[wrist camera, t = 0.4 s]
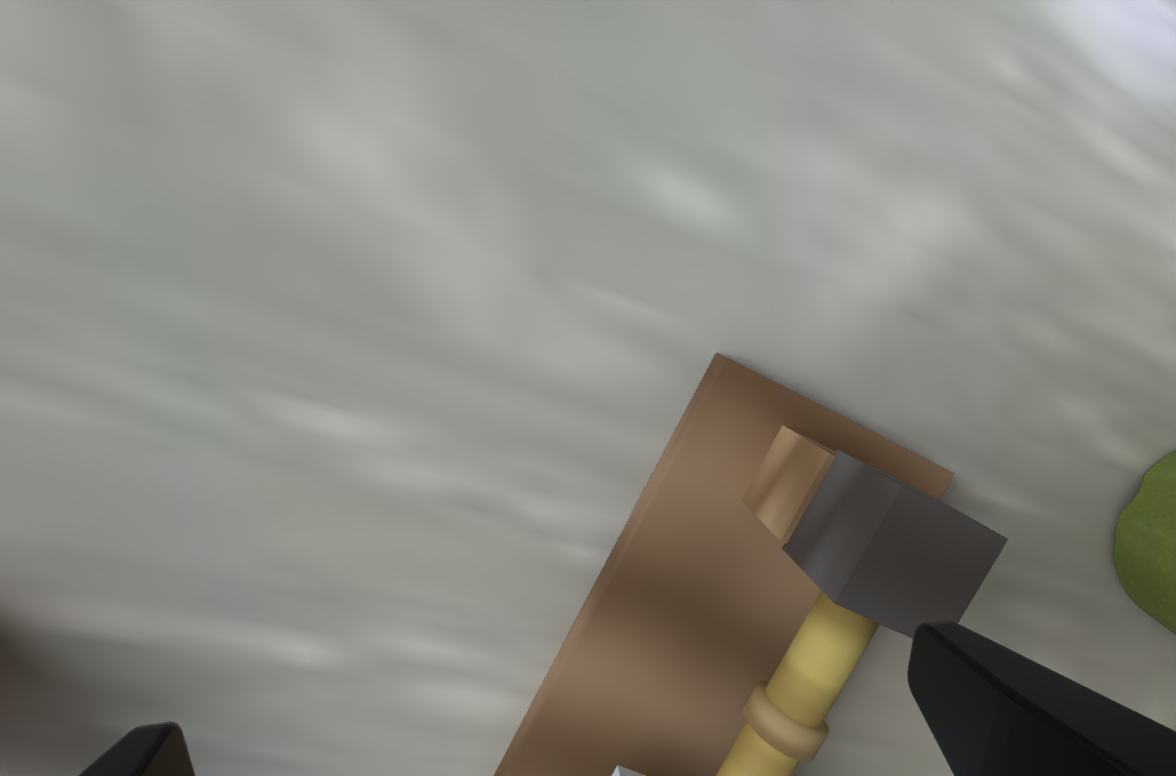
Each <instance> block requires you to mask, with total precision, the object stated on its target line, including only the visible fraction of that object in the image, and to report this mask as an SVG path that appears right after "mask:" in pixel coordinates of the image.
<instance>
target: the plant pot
mask: <svg viewBox="0 0 1176 776" xmlns="http://www.w3.org/2000/svg"><path fill="white" fill-rule="evenodd" d="M1114 560H1115V565H1116V570H1117V573H1118V576H1119V579H1120V581H1121V583H1122V585H1123V587H1124V589H1125V591H1126V592H1127V594H1128V595H1129V597H1130V598H1131V599H1132V600H1133V601H1134V602H1135V603H1136V604H1137V605H1138V606H1139V607H1140V608H1142V609H1143V610H1144V611H1145V612H1147V613H1148V614H1149V615H1150V616H1152V617H1153V618H1154V619H1155V620H1157V621H1158V622H1159V623H1161V624H1162V625H1163V626H1165V627H1166V628H1167V629H1169V630H1170V631H1172V632H1173V633H1174V634H1176V451H1174V452H1173V453H1171V454H1169V455H1167V456H1166V457H1165V458H1163V459H1162V460H1160V461H1159V462H1157V463H1156V464H1155V465H1154V466H1153V467H1152V468H1151V469H1150V470H1149V471H1148V472H1147V473H1146V474H1145V475H1144V477H1143V479H1142V484H1141V487H1140V489H1139V491H1138V493H1137V495H1136V496H1135V497H1134V499H1133V500H1132V501H1131V503H1130V504H1129V505H1128V506H1127V507H1126V508H1125V509H1124V510H1123V511H1122V513H1121V514H1120V516H1119V519H1118V523H1117V527H1116V532H1115V540H1114Z"/></svg>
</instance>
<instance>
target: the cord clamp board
mask: <svg viewBox="0 0 1176 776" xmlns="http://www.w3.org/2000/svg"><path fill="white" fill-rule="evenodd" d="M953 475H954V473H952V472H950V471H948V470H946V469H944V468H942V467H940V466H938V465H936V464H934V463H932V462H930V461H928V460H926V459H925V458H923V457H921V456H919V455H917V454H915V453H913V452H911V451H909V450H907V449H905V448H903V447H901V446H899V445H897V444H895V443H893V442H891V441H889V440H887V439H885V438H883V437H881V436H879V435H877V434H875V433H873V432H871V431H870V430H868V429H866V428H864V427H862V426H860V425H858V424H856V423H854V422H852V421H850V420H848V419H846V418H844V417H842V416H840V415H838V414H836V413H834V412H832V411H830V410H828V409H826V408H824V407H822V406H820V405H818V404H816V403H814V402H813V401H811V400H809V399H807V398H805V397H803V396H801V395H799V394H797V393H795V392H793V391H791V390H789V389H787V388H785V387H783V386H781V385H779V384H777V383H775V382H773V381H771V380H769V379H767V378H765V377H763V376H761V375H759V374H757V373H756V372H754V371H752V370H750V369H748V368H746V367H744V366H742V365H740V364H738V363H736V362H734V361H732V360H730V359H728V358H726V357H724V356H722V355H719V354H717V353H716V354H715V356H714V358H713V360H712V362H711V364H710V365H709V367H708V369H707V371H706V373H705V375H704V377H703V379H702V381H701V383H700V384H699V386H698V388H697V390H696V392H695V394H694V396H693V398H692V400H691V402H690V403H689V405H688V407H687V409H686V411H685V413H684V415H683V417H682V419H681V421H680V423H679V424H678V426H677V428H676V430H675V432H674V434H673V436H672V438H671V440H670V442H669V443H668V445H667V447H666V449H665V451H664V453H663V455H662V457H661V459H660V461H659V462H658V464H657V466H656V468H655V470H654V472H653V474H652V476H651V478H650V480H649V482H648V483H647V485H646V487H645V489H644V491H643V493H642V495H641V497H640V499H639V501H638V502H637V504H636V506H635V508H634V510H633V512H632V514H631V516H630V518H629V520H628V521H627V523H626V525H625V527H624V529H623V531H622V533H621V535H620V537H619V539H618V541H617V542H616V544H615V546H614V548H613V550H612V552H611V554H610V556H609V558H608V560H607V561H606V563H605V565H604V567H603V569H602V571H601V573H600V575H599V577H598V579H597V580H596V582H595V584H594V586H593V588H592V590H591V592H590V594H589V596H588V598H587V599H586V601H585V603H584V605H583V607H582V609H581V611H580V613H579V615H578V617H577V619H576V620H575V622H574V624H573V626H572V628H571V630H570V632H569V634H568V636H567V638H566V639H565V641H564V643H563V645H562V647H561V649H560V651H559V653H558V655H557V657H556V658H555V660H554V662H553V664H552V666H551V668H550V670H549V672H548V674H547V676H546V678H545V679H544V681H543V683H542V685H541V687H540V689H539V691H538V693H537V695H536V697H535V698H534V700H533V702H532V704H531V706H530V708H529V710H528V712H527V714H526V716H525V717H524V719H523V721H522V723H521V725H520V727H519V729H518V731H517V733H516V735H515V737H514V738H513V740H512V742H511V744H510V746H509V748H508V750H507V752H506V754H505V756H504V757H503V759H502V761H501V763H500V765H499V767H498V769H497V771H496V773H495V775H494V776H612V774H613V772H614V770H615V769H616V767H617V765H618V766H621V767H624V768H627V769H629V770H632V771H635V772H638V773H640V774H643V775H646V776H791V775H792V773H793V771H794V770H795V768H796V766H797V764H798V763H799V761H803V762H809V761H811V760H813V758H814V757H815V755H816V753H817V752H818V750H819V748H820V746H821V745H822V743H823V741H824V740H825V738H826V736H827V734H828V732H829V729H828V726H827V724H826V722H825V721H824V718H825V717H826V715H827V713H828V711H829V710H830V708H831V706H832V705H833V703H834V701H835V699H836V698H837V696H838V694H839V693H840V691H841V689H842V687H843V686H844V684H845V682H846V681H847V679H848V677H849V675H850V674H851V672H852V670H853V669H854V667H855V665H856V663H857V662H858V660H859V658H860V657H861V655H862V653H863V651H864V650H865V648H866V646H867V645H868V643H869V641H870V640H871V638H872V636H873V634H874V633H875V631H876V629H877V628H878V626H879V624H881V625H883V626H885V627H888V628H890V629H892V630H894V631H897V632H899V633H901V634H903V635H906V636H908V637H910V638H912V639H913V637H914V632H915V629H916V628H917V626H918V625H919V624H922V623H925V622H933V621H941V620H949V621H953V622H955V623H957V624H958V622H959V620H960V619H961V617H962V615H963V614H964V612H965V610H966V609H967V607H968V605H969V604H970V602H971V600H972V599H973V597H974V595H975V594H976V592H977V590H978V589H979V587H980V585H981V584H982V582H983V580H984V579H985V577H986V575H987V574H988V572H989V570H990V569H991V567H992V565H993V564H994V562H995V560H996V559H997V557H998V555H999V554H1000V552H1001V550H1002V549H1003V547H1004V545H1005V544H1006V542H1007V540H1008V539H1007V538H1005V537H1004V536H1002V535H1000V534H998V533H996V532H995V531H993V530H991V529H989V528H988V527H986V526H984V525H982V524H980V523H979V522H977V521H975V520H973V519H972V518H970V517H968V516H966V515H964V514H963V513H961V512H959V511H957V510H955V509H954V508H952V507H950V506H948V505H947V504H945V503H943V502H941V501H939V500H940V498H941V496H942V494H943V493H944V491H945V489H946V487H947V486H948V484H949V482H950V481H951V479H952V477H953Z"/></svg>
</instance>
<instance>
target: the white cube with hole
mask: <svg viewBox="0 0 1176 776" xmlns="http://www.w3.org/2000/svg"><path fill="white" fill-rule="evenodd" d="M612 776H646V775H643V774H640V773H638V772H635V771H632V770H629V769H627V768H624V767H621V766H618V765H617V767H616V769H615V770H614V772H613V774H612Z"/></svg>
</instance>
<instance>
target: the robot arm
mask: <svg viewBox="0 0 1176 776" xmlns="http://www.w3.org/2000/svg"><path fill="white" fill-rule="evenodd" d="M908 683H909V687H910V690H911V692H912V695H913V697H914V699H915V701H916V702H917V704H918V706H919V708H920V710H921V712H922V714H923V716H924V718H925V720H926V722H927V724H928V726H929V728H930V730H931V731H932V733H933V735H934V737H935V739H936V741H937V743H938V745H939V747H940V749H941V751H942V753H943V755H944V757H945V759H946V761H947V762H948V764H949V766H950V768H951V770H952V772H953V774H954V776H1176V731H1174V730H1172V729H1170V728H1168V727H1166V726H1164V725H1162V724H1160V723H1158V722H1156V721H1154V720H1151V719H1149V718H1147V717H1145V716H1143V715H1141V714H1139V713H1137V712H1135V711H1133V710H1131V709H1129V708H1127V707H1125V706H1123V705H1121V704H1119V703H1117V702H1115V701H1113V700H1111V699H1109V698H1107V697H1105V696H1103V695H1101V694H1099V693H1097V692H1095V691H1093V690H1091V689H1089V688H1087V687H1085V686H1083V685H1081V684H1079V683H1077V682H1075V681H1073V680H1071V679H1069V678H1067V677H1065V676H1063V675H1060V674H1058V673H1056V672H1054V671H1052V670H1050V669H1048V668H1046V667H1044V666H1042V665H1040V664H1038V663H1036V662H1034V661H1032V660H1030V659H1028V658H1026V657H1024V656H1022V655H1020V654H1018V653H1016V652H1014V651H1012V650H1010V649H1008V648H1006V647H1004V646H1002V645H1000V644H998V643H996V642H994V641H992V640H990V639H988V638H986V637H984V636H982V635H980V634H978V633H976V632H974V631H972V630H969V629H967V628H965V627H963V626H961V625H959V624H957V623H955V622H953V621H949V620H941V621H933V622H925V623H922V624H919V625H918V626H917V628H916V629H915V632H914V637H913V643H912V649H911V655H910V660H909V666H908ZM78 776H195V773H194V769H193V766H192V762H191V759H190V755H189V752H188V749H187V745H186V742H185V739H184V735H183V732H182V730H181V727H180V726H179V725H178V724H177V723H175V722H164V723H156V724H149V725H142V726H139V727H136V728H134V729H133V730H131V731H130V732H129V733H128V734H126V735H125V736H124V737H123V738H122V739H121V740H119V741H118V742H117V743H116V744H115V745H114V746H112V747H111V748H110V749H109V750H108V751H106V752H105V753H104V754H103V755H102V756H101V757H99V758H98V759H97V760H96V761H95V762H94V763H92V764H91V765H90V766H89V767H88V768H87V769H85V770H84V771H83V772H82V773H81V774H80V775H78Z"/></svg>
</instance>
